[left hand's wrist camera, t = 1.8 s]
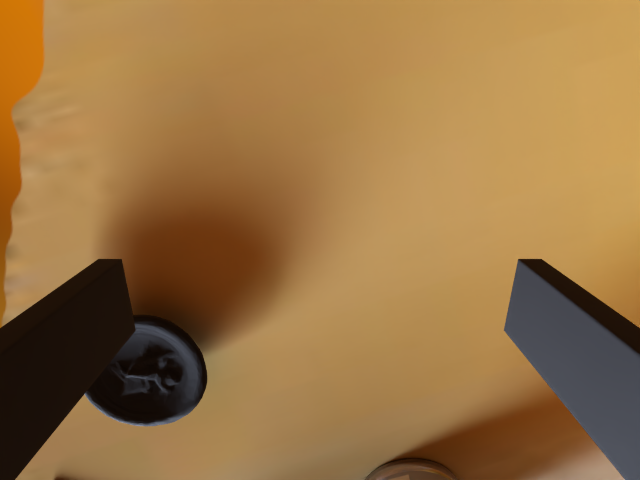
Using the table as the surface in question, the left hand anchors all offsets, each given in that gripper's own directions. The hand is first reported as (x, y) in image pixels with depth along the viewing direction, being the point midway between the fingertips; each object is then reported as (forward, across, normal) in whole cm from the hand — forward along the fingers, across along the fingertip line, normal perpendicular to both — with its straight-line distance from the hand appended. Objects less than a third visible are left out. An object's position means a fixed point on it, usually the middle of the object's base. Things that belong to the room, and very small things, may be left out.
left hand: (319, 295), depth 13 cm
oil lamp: (+28, +23, +22) cm, 42 cm away
